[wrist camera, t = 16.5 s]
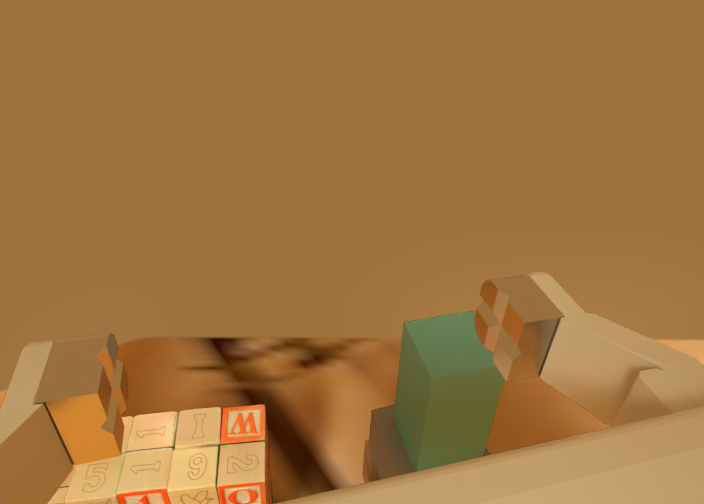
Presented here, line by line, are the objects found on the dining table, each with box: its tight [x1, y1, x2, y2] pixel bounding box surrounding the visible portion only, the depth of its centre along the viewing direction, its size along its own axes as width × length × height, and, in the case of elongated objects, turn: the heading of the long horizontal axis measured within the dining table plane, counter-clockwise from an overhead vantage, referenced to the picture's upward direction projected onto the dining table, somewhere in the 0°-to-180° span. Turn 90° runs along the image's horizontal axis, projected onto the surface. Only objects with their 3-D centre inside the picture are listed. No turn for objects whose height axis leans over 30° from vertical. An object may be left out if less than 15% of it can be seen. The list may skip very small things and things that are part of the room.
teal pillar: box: [394, 311, 504, 472], centre depth 35 cm, size 5×5×10 cm
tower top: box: [368, 405, 490, 480], centre depth 40 cm, size 7×7×5 cm
